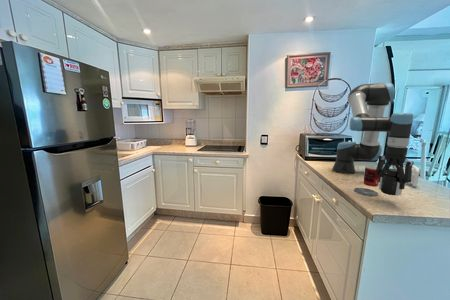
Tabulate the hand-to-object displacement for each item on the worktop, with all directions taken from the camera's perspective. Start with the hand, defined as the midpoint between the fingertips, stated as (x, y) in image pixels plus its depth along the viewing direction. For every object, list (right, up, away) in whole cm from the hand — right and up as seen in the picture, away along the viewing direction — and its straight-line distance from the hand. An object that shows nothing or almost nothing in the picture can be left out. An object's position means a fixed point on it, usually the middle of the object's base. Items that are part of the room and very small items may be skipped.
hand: (389, 191), depth 94 cm
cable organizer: (+32, -1, +27) cm, 42 cm away
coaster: (-2, -3, +13) cm, 14 cm away
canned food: (+11, -1, +26) cm, 28 cm away
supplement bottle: (0, -1, 0) cm, 1 cm away
